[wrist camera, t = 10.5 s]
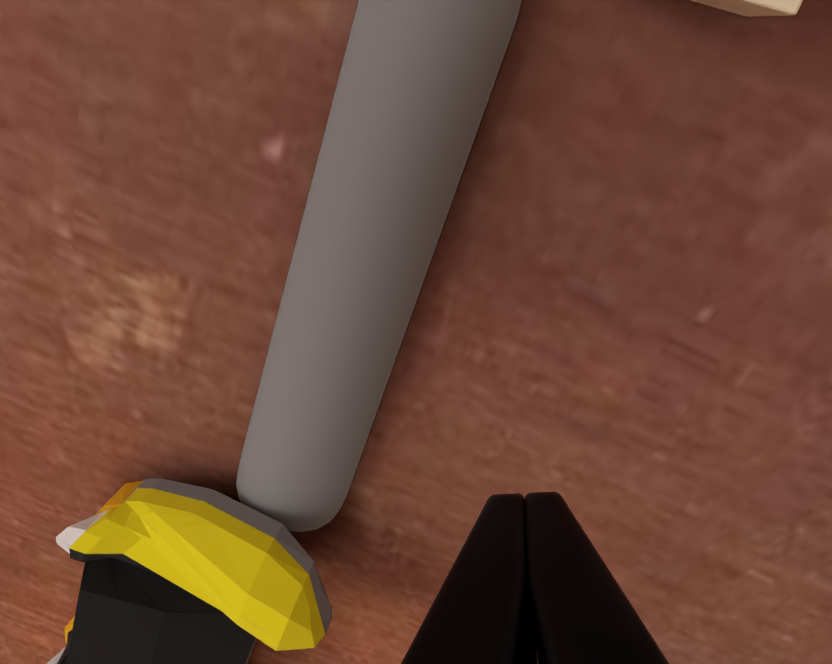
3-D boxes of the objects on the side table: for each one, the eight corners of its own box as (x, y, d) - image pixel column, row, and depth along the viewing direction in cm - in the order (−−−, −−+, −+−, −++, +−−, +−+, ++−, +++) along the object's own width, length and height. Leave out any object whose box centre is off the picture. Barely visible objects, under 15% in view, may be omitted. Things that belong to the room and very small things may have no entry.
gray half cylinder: (237, 476, 27) (216, 505, 25) (382, -85, 18) (365, -95, 17) (339, 517, 27) (325, 548, 25) (534, -29, 18) (532, -34, 16)
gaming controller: (374, 511, 26) (132, 407, 26) (332, 625, 21) (33, 496, 21) (274, 739, 33) (81, 655, 33) (224, 866, 28) (-4, 767, 28)
